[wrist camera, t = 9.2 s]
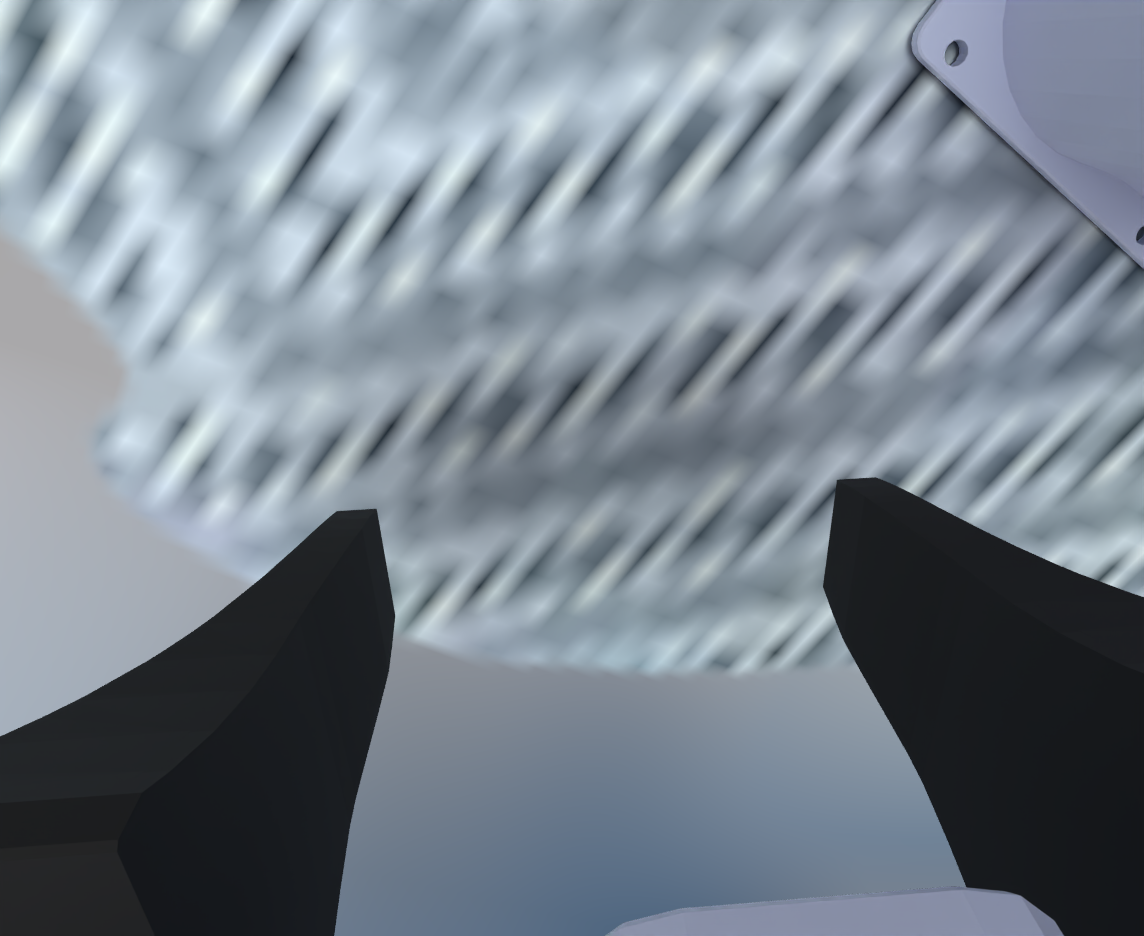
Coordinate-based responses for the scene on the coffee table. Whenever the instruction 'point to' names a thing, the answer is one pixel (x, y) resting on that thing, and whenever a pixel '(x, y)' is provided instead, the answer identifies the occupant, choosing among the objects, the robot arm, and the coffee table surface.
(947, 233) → the coffee table surface
